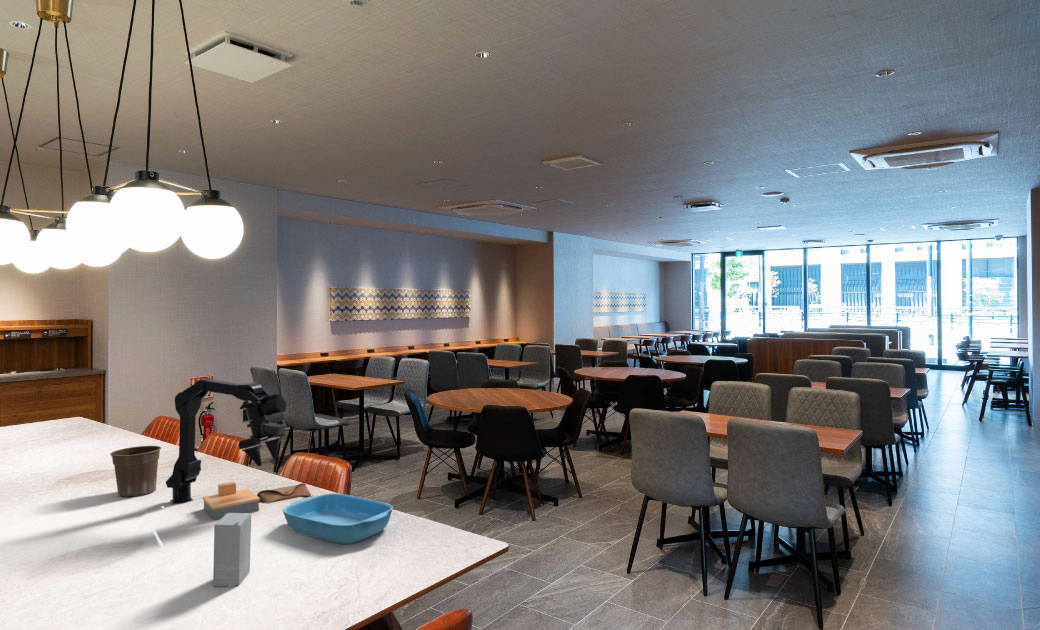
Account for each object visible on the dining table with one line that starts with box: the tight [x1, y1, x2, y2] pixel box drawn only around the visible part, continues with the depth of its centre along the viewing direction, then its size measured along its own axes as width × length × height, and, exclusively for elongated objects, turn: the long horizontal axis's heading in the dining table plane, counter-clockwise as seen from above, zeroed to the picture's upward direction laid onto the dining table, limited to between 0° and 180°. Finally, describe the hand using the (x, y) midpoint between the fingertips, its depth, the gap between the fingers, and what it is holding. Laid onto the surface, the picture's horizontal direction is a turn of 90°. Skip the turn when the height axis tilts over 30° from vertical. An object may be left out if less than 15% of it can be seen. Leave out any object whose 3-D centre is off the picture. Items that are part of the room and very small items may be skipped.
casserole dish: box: [282, 492, 394, 545], centre depth 187 cm, size 37×22×7 cm, turn 58°
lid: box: [202, 481, 260, 510], centre depth 205 cm, size 15×15×5 cm
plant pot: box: [110, 445, 162, 498], centre depth 227 cm, size 16×16×16 cm
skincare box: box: [212, 512, 252, 587], centre depth 152 cm, size 8×7×16 cm
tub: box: [203, 500, 260, 521], centre depth 205 cm, size 14×14×4 cm
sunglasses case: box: [256, 482, 312, 505], centre depth 219 cm, size 18×7×7 cm, turn 131°
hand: (268, 462), depth 209 cm, fingers open, 9 cm apart
